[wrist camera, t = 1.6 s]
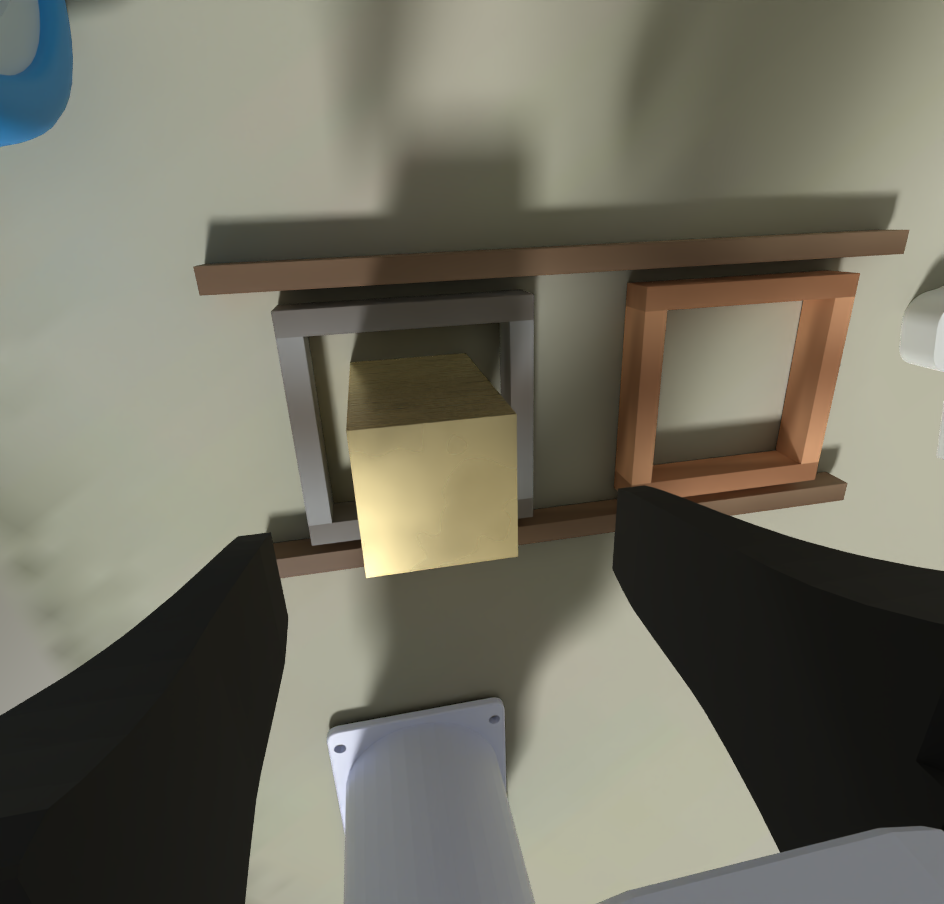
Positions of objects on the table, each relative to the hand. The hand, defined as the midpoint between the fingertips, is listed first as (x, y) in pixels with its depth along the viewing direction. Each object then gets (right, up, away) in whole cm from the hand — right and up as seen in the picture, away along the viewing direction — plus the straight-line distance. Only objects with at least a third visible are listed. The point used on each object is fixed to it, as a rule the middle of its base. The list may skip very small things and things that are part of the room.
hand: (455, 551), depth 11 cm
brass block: (-2, +4, +9) cm, 10 cm away
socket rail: (+4, +4, +10) cm, 11 cm away
